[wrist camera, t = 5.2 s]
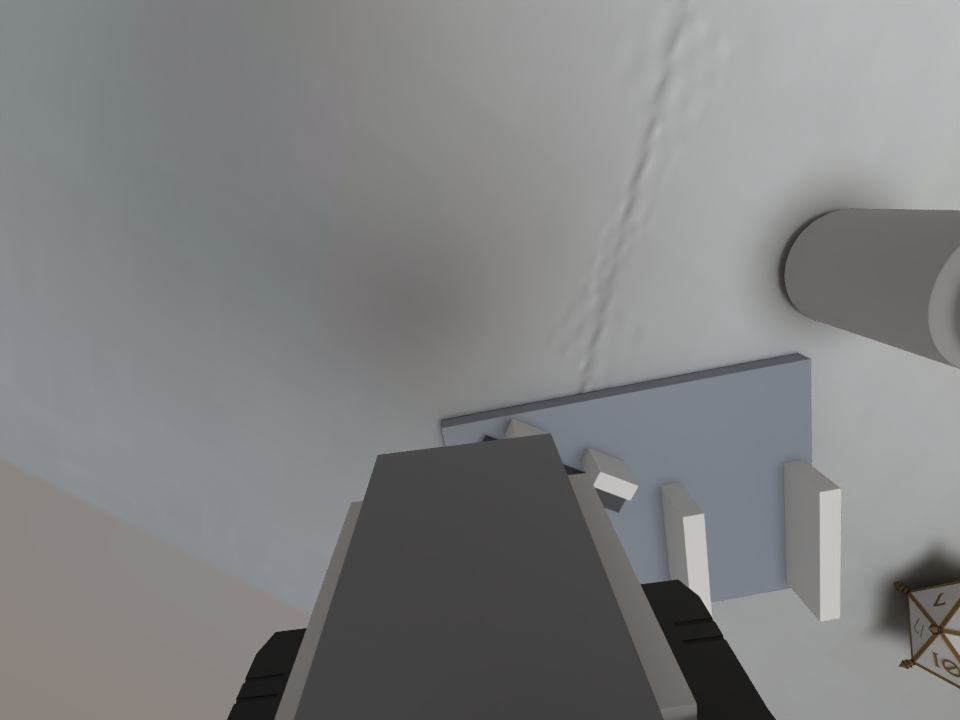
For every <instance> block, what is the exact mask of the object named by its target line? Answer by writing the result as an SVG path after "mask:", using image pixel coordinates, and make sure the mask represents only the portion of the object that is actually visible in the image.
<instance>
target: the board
mask: <svg viewBox="0 0 960 720" xmlns="http://www.w3.org/2000/svg"><path fill="white" fill-rule="evenodd" d="M441 430H442V434H443V438H444V443H445V446H453V445H461V444H469V443H477V442H483V440H484V438H485V435H487V436H490V437H493V438H495V439H498V440H500V439H508V438H516V437H524V436H532V435H540V434H548V433H551V435H552V437H553V440H554V442H555V445H556V447H557V450H558V453H559V455H560V458H561V460H562V463H563V464H564V465H567V466H569V467H572V468H575V469H577V470H580V471H583V472H585V473H588V475H589V477H590V479H591V481H592V483H593V485H594V487H595V488H598V489H600V490H603V491H606V492H608V493H611V494H614V495H616V496H619V497H622V498H624V499H626V500H625V502H624V504H623V506H622V508H621V509H620V511H619V513H618V512H615V511H612V510H609V509H607V508H605V511H606V513H607V515H608V517H609V519H610V521H611V523H612V525H613V528H614V530H615V532H616V534H617V536H618V538H619V540H620V542H621V544H622V547H623V549H624V551H625V553H626V555H627V557H628V559H629V561H630V564H631V566H632V568H633V570H634V572H635V574H636V576H637V578H638V581H639V583H640V584H646V583H654V582H662V581H670V573H669V563H668V553H667V544H666V534H665V524H664V514H663V504H662V494H661V485H667V484H672V483H677V482H680V483H681V484H682V486H683V487H684V488H685V489H686V491H687V492H688V493H689V495H690V496H691V497H692V498H693V500H694V501H695V502H696V504H697V505H698V506H699V507H700V509H701V510H702V511H703V513H704V518H705V531H706V545H707V558H708V571H709V584H710V598H711V602H715V601H721V600H727V599H732V598H738V597H743V596H749V595H754V594H760V593H765V592H771V591H777V590H782V589H788V588H791V587H790V586H789V585H788V583H787V575H786V536H785V497H784V463H786V462H791V461H797V460H802V459H803V460H804V461H806V462H807V463H808V464H810V465H811V466H812V432H811V359H810V358H808V357H806V356H803V355H801V354H799V353H797V354H792V355H787V356H781V357H776V358H771V359H765V360H760V361H755V362H749V363H744V364H739V365H733V366H728V367H723V368H717V369H712V370H707V371H701V372H696V373H691V374H685V375H680V376H675V377H669V378H664V379H659V380H653V381H648V382H643V383H638V384H632V385H627V386H622V387H616V388H611V389H606V390H600V391H595V392H590V393H584V394H579V395H574V396H568V397H563V398H558V399H552V400H547V401H542V402H536V403H531V404H526V405H520V406H515V407H510V408H504V409H499V410H494V411H488V412H483V413H478V414H473V415H467V416H462V417H457V418H451V419H446V420H442V424H441Z"/></svg>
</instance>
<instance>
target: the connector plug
mask: <svg viewBox="0 0 960 720" xmlns="http://www.w3.org/2000/svg"><path fill="white" fill-rule="evenodd" d="M294 720H664V719H663V716H662V714H661V711H660V709H659V706H658V704H657V701H656V698H655V696H654V693H653V691H652V688H651V686H650V683H649V681H648V678H647V676H646V673H645V671H644V668H643V666H642V663H641V660H640V658H639V655H638V653H637V650H636V648H635V645H634V643H633V640H632V638H631V635H630V633H629V630H628V627H627V625H626V622H625V620H624V617H623V615H622V612H621V610H620V607H619V605H618V602H617V600H616V597H615V595H614V592H613V589H612V587H611V584H610V582H609V579H608V577H607V574H606V572H605V569H604V567H603V564H602V562H601V559H600V557H599V554H598V551H597V549H596V546H595V544H594V541H593V539H592V536H591V534H590V531H589V529H588V526H587V524H586V521H585V518H584V516H583V513H582V511H581V508H580V506H579V503H578V501H577V498H576V496H575V493H574V491H573V488H572V486H571V483H570V480H569V478H568V475H567V473H566V470H565V468H564V465H563V463H562V460H561V458H560V455H559V453H558V450H557V447H556V445H555V442H554V440H553V437H552V435H551V433H548V434H540V435H532V436H524V437H516V438H508V439H500V440H493V441H485V442H477V443H469V444H461V445H453V446H445V447H437V448H430V449H422V450H414V451H406V452H398V453H390V454H382V455H378V456H377V459H376V462H375V465H374V469H373V472H372V475H371V478H370V481H369V484H368V488H367V491H366V494H365V497H364V500H363V503H362V506H361V510H360V513H359V516H358V519H357V522H356V525H355V528H354V532H353V535H352V538H351V541H350V544H349V547H348V550H347V554H346V557H345V560H344V563H343V566H342V569H341V573H340V576H339V579H338V582H337V585H336V588H335V591H334V595H333V598H332V601H331V604H330V607H329V610H328V613H327V617H326V620H325V623H324V626H323V629H322V632H321V636H320V639H319V642H318V645H317V648H316V651H315V654H314V658H313V661H312V664H311V667H310V670H309V673H308V676H307V680H306V683H305V686H304V689H303V692H302V695H301V698H300V702H299V705H298V708H297V711H296V714H295V717H294Z"/></svg>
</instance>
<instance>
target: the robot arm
mask: <svg viewBox="0 0 960 720" xmlns="http://www.w3.org/2000/svg"><path fill="white" fill-rule="evenodd" d="M568 478H569V480H570V483H571V486H572V488H573V491H574V493H575V496H576V498H577V501H578V503H579V506H580V508H581V511H582V513H583V516H584V518H585V521H586V524H587V526H588V529H589V531H590V534H591V536H592V539H593V541H594V544H595V546H596V549H597V551H598V554H599V557H600V559H601V562H602V564H603V567H604V569H605V572H606V574H607V577H608V579H609V582H610V584H611V587H612V589H613V592H614V595H615V597H616V600H617V602H618V605H619V607H620V610H621V612H622V615H623V617H624V620H625V622H626V625H627V627H628V630H629V633H630V635H631V638H632V640H633V643H634V645H635V648H636V650H637V653H638V655H639V658H640V660H641V663H642V666H643V668H644V671H645V673H646V676H647V678H648V681H649V683H650V686H651V688H652V691H653V693H654V696H655V698H656V701H657V704H658V706H659V709H660V711H661V714H662V716H663V719H664V720H776V719H775V718H774V716H773V715H772V714H771V713H770V711H769V710H768V708H767V707H766V705H765V704H764V702H763V700H762V699H761V697H760V695H759V694H758V692H757V690H756V689H755V687H754V685H753V684H752V682H751V680H750V679H749V677H748V676H747V674H746V672H745V671H744V669H743V667H742V666H741V664H740V662H739V661H738V659H737V657H736V656H735V654H734V652H733V651H732V649H731V648H730V646H729V644H728V643H727V641H726V640H724V638H723V634H722V633H721V631H720V629H719V628H718V626H717V624H716V623H715V622H713V619H712V616H711V615H710V613H709V611H708V610H707V608H706V606H705V605H704V603H703V601H702V600H701V598H700V596H698V595H697V594H696V593H695V592H693V591H692V590H691V589H690V588H688V587H687V586H686V585H685V584H683V583H682V582H681V581H680V580H670V581H662V582H654V583H646V584H640V583H639V581H638V578H637V576H636V574H635V572H634V570H633V568H632V566H631V564H630V561H629V559H628V557H627V555H626V553H625V551H624V549H623V547H622V544H621V542H620V540H619V538H618V536H617V534H616V532H615V530H614V528H613V525H612V523H611V521H610V519H609V517H608V515H607V513H606V511H605V508H604V506H603V504H602V502H601V500H600V498H599V496H598V494H597V492H596V489H595V487H594V485H593V483H592V481H591V479H590V477H589V475H588V473H582V474H574V475H568ZM362 503H363V501H360V502H352V503H351V505H350V508H349V510H348V513H347V516H346V519H345V522H344V525H343V527H342V530H341V533H340V536H339V539H338V541H337V544H336V547H335V550H334V553H333V556H332V558H331V561H330V564H329V567H328V570H327V573H326V575H325V578H324V581H323V584H322V587H321V589H320V592H319V595H318V598H317V601H316V604H315V606H314V609H313V612H312V615H311V618H310V620H309V623H308V626H307V628H304V629H297V630H289V631H281V632H276V633H275V634H274V635H273V636H272V637H271V638H270V639H269V640H268V641H267V643H266V644H265V645H264V646H263V647H262V648H261V649H260V651H259V652H258V653H257V654H256V656H255V658H254V660H253V663H252V665H251V667H250V669H249V672H248V674H247V676H246V681H245V683H243V685H242V687H241V690H240V692H239V694H238V697H237V698H236V700H237V701H236V704H234V706H233V707H232V710H231V712H230V714H229V717H228V719H227V720H294V717H295V714H296V711H297V708H298V705H299V702H300V698H301V695H302V692H303V689H304V686H305V683H306V680H307V676H308V673H309V670H310V667H311V664H312V661H313V658H314V654H315V651H316V648H317V645H318V642H319V639H320V636H321V632H322V629H323V626H324V623H325V620H326V617H327V613H328V610H329V607H330V604H331V601H332V598H333V595H334V591H335V588H336V585H337V582H338V579H339V576H340V573H341V569H342V566H343V563H344V560H345V557H346V554H347V550H348V547H349V544H350V541H351V538H352V535H353V532H354V528H355V525H356V522H357V519H358V516H359V513H360V510H361V506H362Z"/></svg>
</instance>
